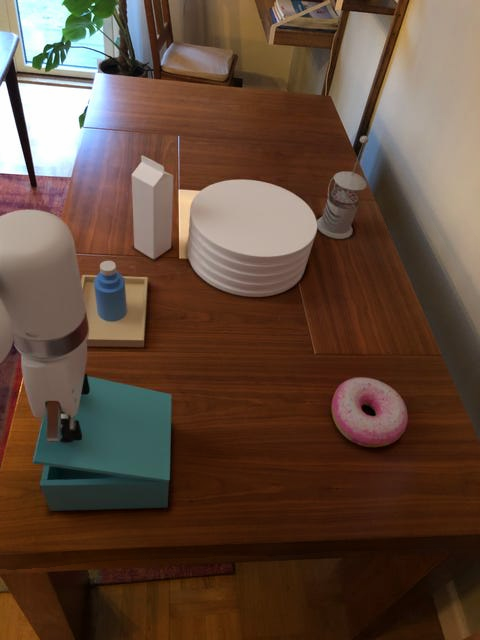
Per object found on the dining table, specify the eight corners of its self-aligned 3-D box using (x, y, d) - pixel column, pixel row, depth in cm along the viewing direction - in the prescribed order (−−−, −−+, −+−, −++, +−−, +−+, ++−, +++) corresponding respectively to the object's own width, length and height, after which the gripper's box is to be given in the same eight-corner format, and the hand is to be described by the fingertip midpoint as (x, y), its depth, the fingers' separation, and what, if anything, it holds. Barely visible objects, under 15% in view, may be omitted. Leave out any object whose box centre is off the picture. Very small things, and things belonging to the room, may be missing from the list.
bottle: (104, 325, 92) (98, 279, 83) (93, 306, 95) (86, 260, 86) (131, 315, 94) (128, 270, 85) (119, 297, 97) (116, 252, 88)
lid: (32, 463, 57) (41, 444, 54) (52, 371, 66) (61, 350, 63) (167, 482, 64) (183, 466, 61) (169, 397, 73) (183, 378, 70)
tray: (143, 347, 90) (143, 340, 89) (71, 346, 88) (69, 338, 86) (147, 284, 101) (147, 277, 100) (83, 282, 99) (82, 274, 98)
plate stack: (328, 276, 111) (342, 237, 103) (224, 312, 99) (231, 271, 91) (264, 210, 126) (272, 171, 117) (167, 233, 114) (168, 192, 105)
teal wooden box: (50, 510, 68) (39, 485, 62) (66, 426, 77) (58, 396, 71) (167, 507, 71) (168, 482, 64) (169, 426, 80) (170, 397, 73)
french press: (326, 240, 120) (356, 148, 102) (307, 213, 127) (332, 122, 109) (359, 236, 123) (395, 146, 105) (339, 210, 130) (369, 121, 112)
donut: (391, 389, 91) (401, 374, 87) (409, 454, 82) (421, 440, 78) (323, 385, 90) (330, 369, 86) (334, 450, 81) (342, 436, 77)
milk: (151, 236, 112) (151, 149, 96) (171, 248, 110) (174, 161, 94) (133, 248, 109) (130, 159, 93) (153, 260, 107) (153, 172, 91)
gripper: (29, 266, 54) (56, 361, 67) (-13, 395, 43) (29, 479, 56) (97, 269, 55) (110, 361, 69) (74, 396, 44) (94, 477, 57)
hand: (73, 413), depth 62 cm, fingers closed on lid, 6 cm apart
